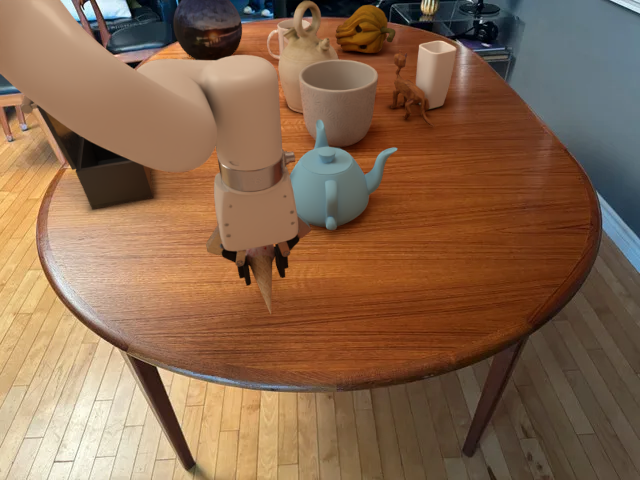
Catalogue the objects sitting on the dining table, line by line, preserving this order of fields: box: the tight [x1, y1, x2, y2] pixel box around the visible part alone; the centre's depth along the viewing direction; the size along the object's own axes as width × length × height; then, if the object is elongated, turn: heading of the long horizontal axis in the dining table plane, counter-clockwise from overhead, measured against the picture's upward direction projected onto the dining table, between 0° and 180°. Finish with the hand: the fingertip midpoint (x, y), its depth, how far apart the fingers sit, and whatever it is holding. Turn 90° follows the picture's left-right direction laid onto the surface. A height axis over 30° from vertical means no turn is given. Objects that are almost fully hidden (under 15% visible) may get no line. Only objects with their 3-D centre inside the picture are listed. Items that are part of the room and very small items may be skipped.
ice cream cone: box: [246, 244, 275, 315], centre depth 66 cm, size 5×5×15 cm
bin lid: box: [20, 95, 81, 171], centre depth 86 cm, size 13×18×5 cm
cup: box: [415, 40, 457, 110], centre depth 116 cm, size 7×7×15 cm
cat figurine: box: [389, 48, 436, 128], centre depth 112 cm, size 18×7×14 cm, turn 27°
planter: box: [299, 59, 379, 148], centre depth 105 cm, size 17×17×15 cm
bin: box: [75, 136, 154, 210], centre depth 95 cm, size 12×18×9 cm, turn 18°
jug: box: [277, 0, 340, 114], centre depth 115 cm, size 15×16×25 cm
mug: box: [266, 18, 311, 60], centre depth 141 cm, size 10×12×11 cm
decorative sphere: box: [173, 0, 243, 60], centre depth 140 cm, size 20×20×20 cm
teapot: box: [289, 120, 398, 231], centre depth 86 cm, size 17×19×12 cm
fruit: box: [334, 4, 396, 54], centre depth 146 cm, size 14×16×20 cm
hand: (263, 274), depth 67 cm, fingers closed on ice cream cone, 4 cm apart
